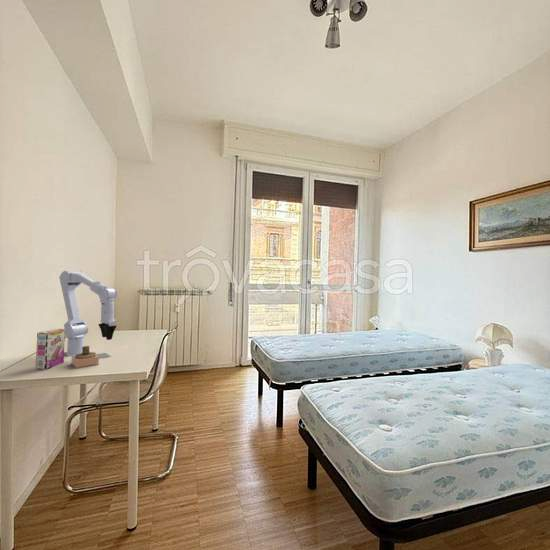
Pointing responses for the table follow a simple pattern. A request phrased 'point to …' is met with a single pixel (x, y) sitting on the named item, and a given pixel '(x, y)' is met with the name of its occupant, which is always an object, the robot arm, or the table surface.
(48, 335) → the candy bar box
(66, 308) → the robot arm
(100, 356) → the mat
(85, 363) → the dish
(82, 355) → the lid
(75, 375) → the table surface
